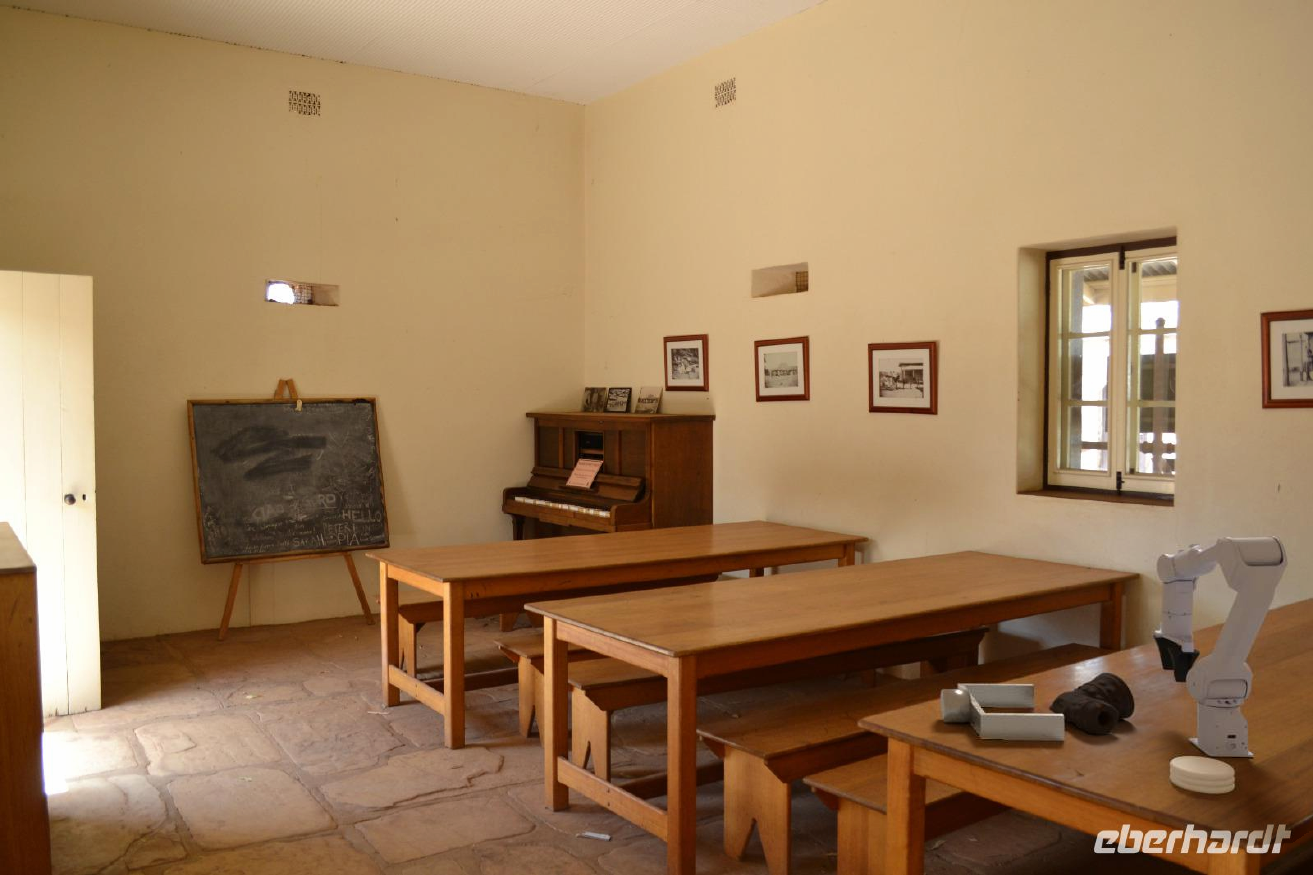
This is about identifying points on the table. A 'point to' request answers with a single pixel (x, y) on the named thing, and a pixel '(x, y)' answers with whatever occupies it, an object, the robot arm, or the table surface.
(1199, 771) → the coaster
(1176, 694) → the table surface
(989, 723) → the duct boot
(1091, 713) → the pipe
